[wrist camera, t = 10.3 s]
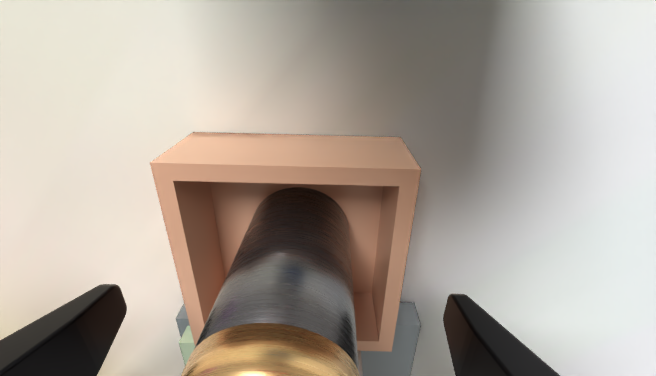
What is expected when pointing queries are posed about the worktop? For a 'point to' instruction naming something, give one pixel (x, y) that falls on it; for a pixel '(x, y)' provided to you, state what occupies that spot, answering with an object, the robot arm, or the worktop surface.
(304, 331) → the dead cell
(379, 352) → the grey flat block
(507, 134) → the worktop surface
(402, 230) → the salmon pink square tray
